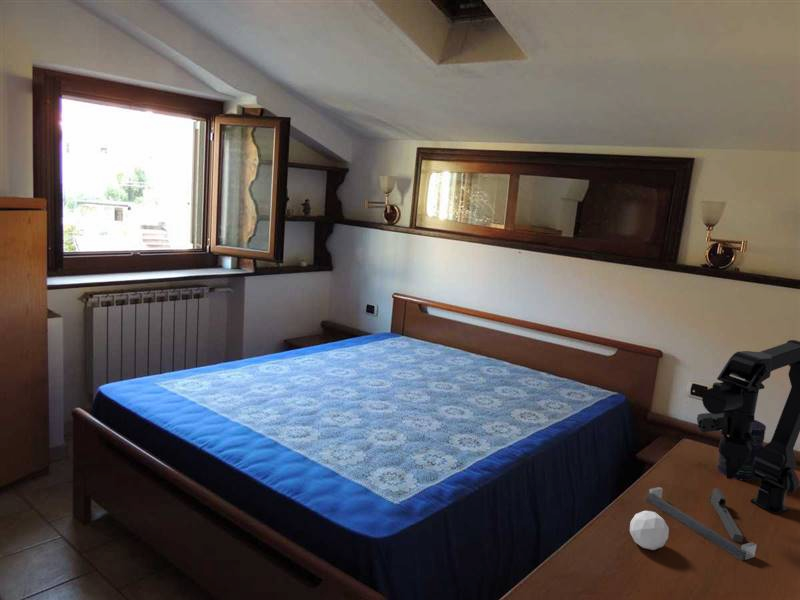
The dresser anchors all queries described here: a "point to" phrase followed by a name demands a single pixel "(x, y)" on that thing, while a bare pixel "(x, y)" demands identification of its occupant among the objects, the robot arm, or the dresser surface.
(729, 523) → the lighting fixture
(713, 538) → the end cap rail
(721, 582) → the dresser surface
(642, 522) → the geometric ball
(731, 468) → the robot arm
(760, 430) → the storage jar
